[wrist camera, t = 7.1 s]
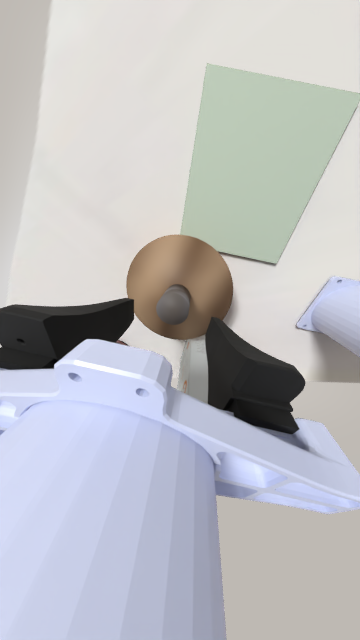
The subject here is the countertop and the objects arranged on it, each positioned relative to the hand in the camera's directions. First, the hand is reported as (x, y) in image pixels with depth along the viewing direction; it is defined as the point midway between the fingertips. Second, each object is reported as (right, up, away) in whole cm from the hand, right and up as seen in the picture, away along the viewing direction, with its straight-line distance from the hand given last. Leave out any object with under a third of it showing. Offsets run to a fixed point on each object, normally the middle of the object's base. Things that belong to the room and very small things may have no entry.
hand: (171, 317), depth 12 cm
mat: (+8, +14, +2) cm, 17 cm away
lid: (+1, +3, +6) cm, 7 cm away
